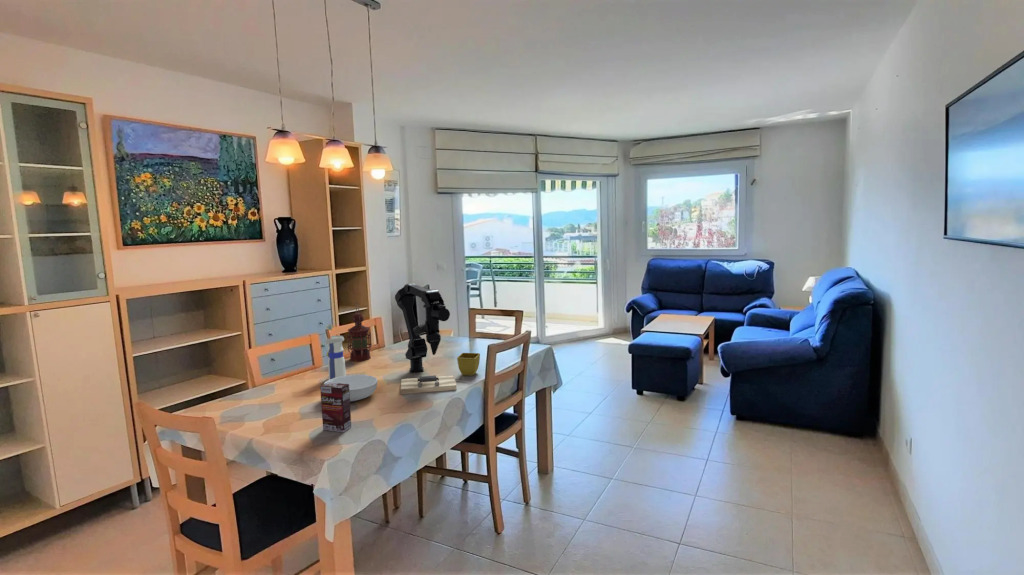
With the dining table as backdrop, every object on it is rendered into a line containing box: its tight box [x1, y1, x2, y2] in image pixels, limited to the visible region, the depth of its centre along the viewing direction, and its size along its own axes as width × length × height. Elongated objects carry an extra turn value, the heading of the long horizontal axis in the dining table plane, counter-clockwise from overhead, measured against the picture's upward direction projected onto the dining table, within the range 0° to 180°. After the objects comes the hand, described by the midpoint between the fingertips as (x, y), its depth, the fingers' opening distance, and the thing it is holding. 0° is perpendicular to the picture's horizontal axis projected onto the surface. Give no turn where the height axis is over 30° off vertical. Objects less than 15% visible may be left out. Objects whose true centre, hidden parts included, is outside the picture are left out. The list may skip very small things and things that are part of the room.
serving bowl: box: [323, 374, 378, 403], centre depth 209 cm, size 21×21×7 cm
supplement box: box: [319, 382, 352, 433], centre depth 177 cm, size 9×5×16 cm, turn 75°
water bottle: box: [325, 323, 347, 380], centre depth 234 cm, size 8×8×25 cm
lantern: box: [346, 301, 373, 362], centre depth 268 cm, size 12×12×30 cm
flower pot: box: [456, 352, 481, 376], centre depth 238 cm, size 9×9×9 cm
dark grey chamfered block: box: [419, 375, 438, 382], centre depth 225 cm, size 3×7×4 cm, turn 104°
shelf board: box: [400, 375, 457, 395], centre depth 222 cm, size 14×23×4 cm, turn 100°
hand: (433, 352), depth 233 cm, fingers open, 9 cm apart
